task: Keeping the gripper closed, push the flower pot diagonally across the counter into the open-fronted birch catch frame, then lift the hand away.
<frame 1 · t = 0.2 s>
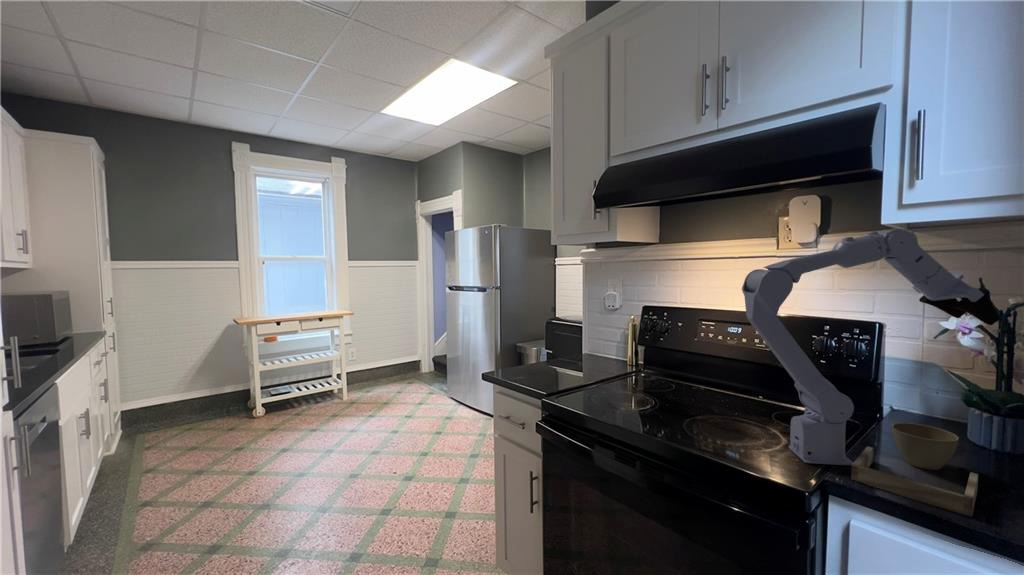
hand: (977, 318, 86), 31 cm above the table, tool tilted 45°, fingers open, 7 cm apart
flower pot: (922, 465, 88), on the table
catch frame: (913, 483, 80), on the table
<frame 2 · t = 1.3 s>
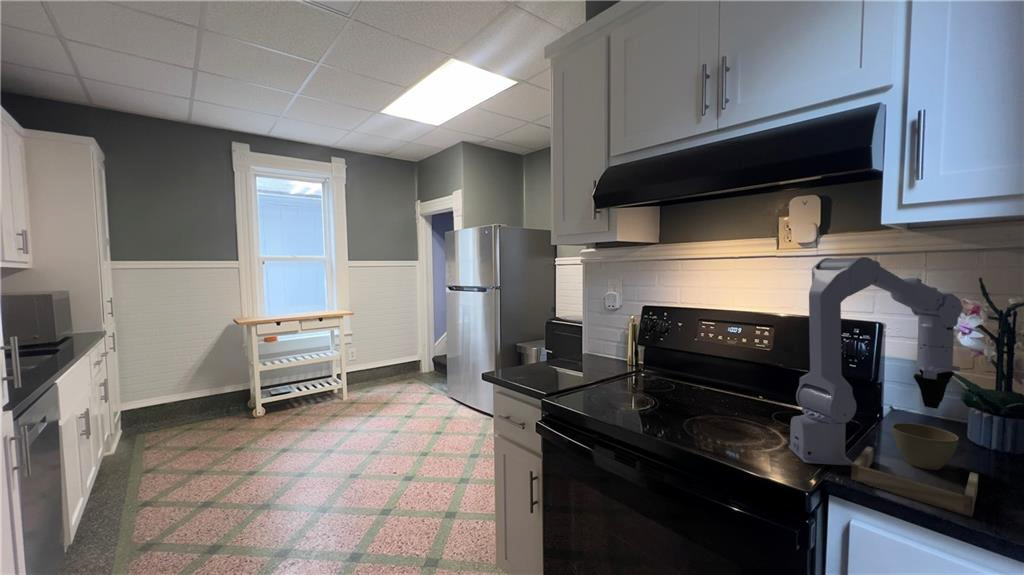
hand: (933, 404, 95), 10 cm above the table, tool pointing down, fingers open, 6 cm apart
nothing on the table moved.
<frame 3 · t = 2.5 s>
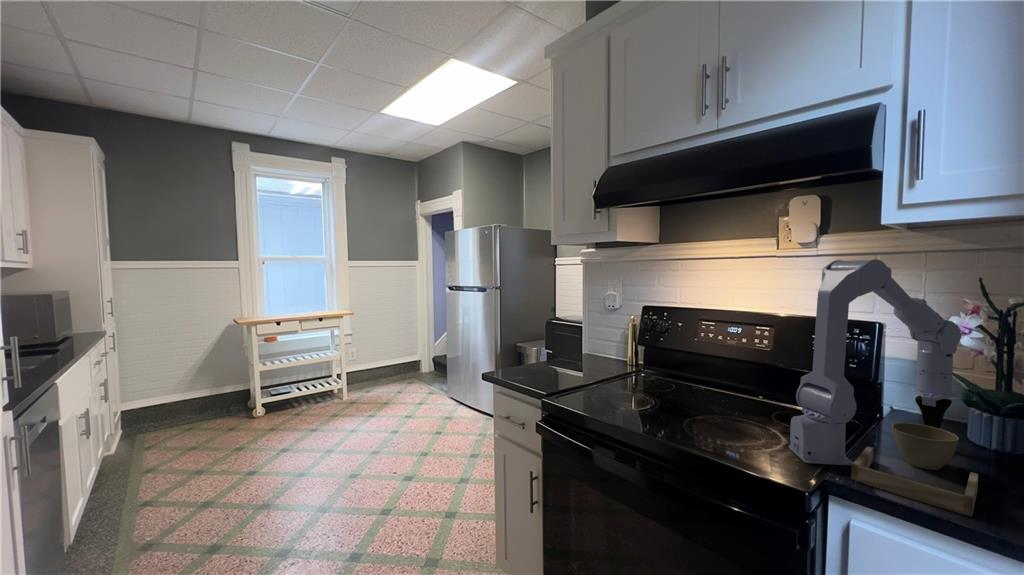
hand: (932, 429, 96), 4 cm above the table, tool pointing down, fingers closed
nothing on the table moved.
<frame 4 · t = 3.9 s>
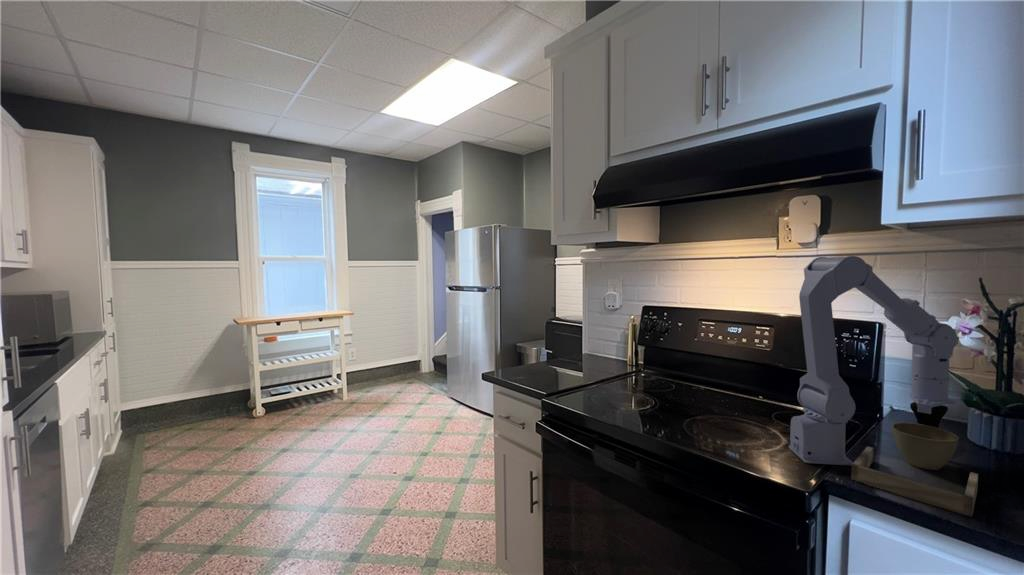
hand: (928, 437, 92), 4 cm above the table, tool pointing down, fingers closed
flower pot: (922, 465, 88), on the table, touching gripper
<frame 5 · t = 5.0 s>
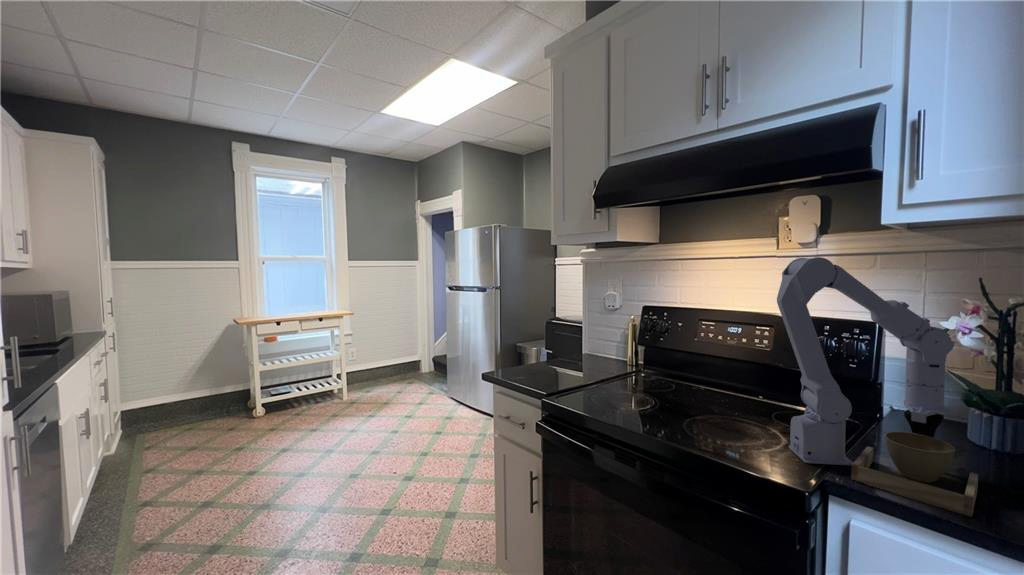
hand: (922, 447, 87), 4 cm above the table, tool pointing down, fingers closed
flower pot: (917, 477, 83), on the table, touching gripper
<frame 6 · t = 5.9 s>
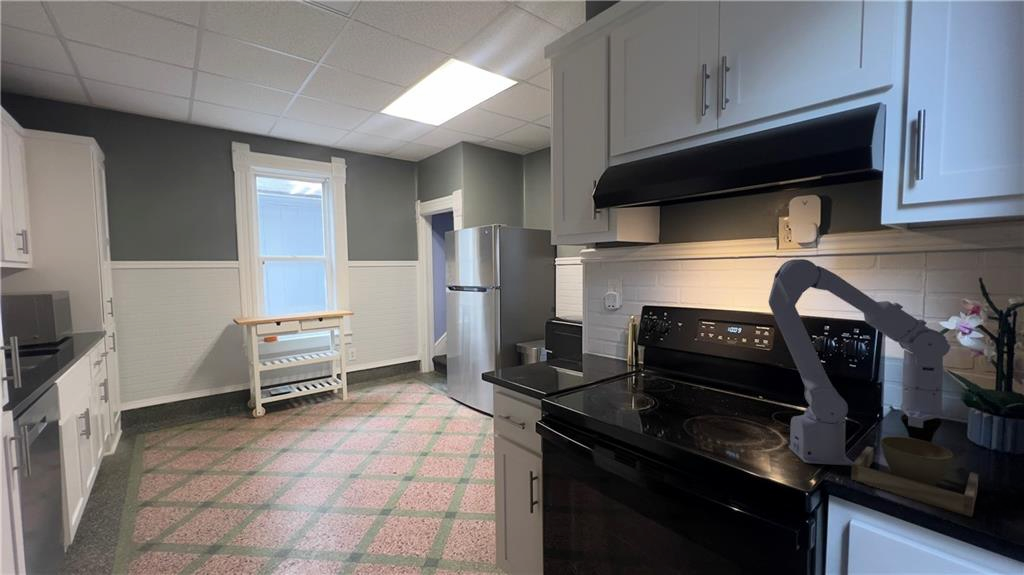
hand: (920, 452, 84), 4 cm above the table, tool pointing down, fingers closed
flower pot: (914, 483, 81), on the table, touching gripper
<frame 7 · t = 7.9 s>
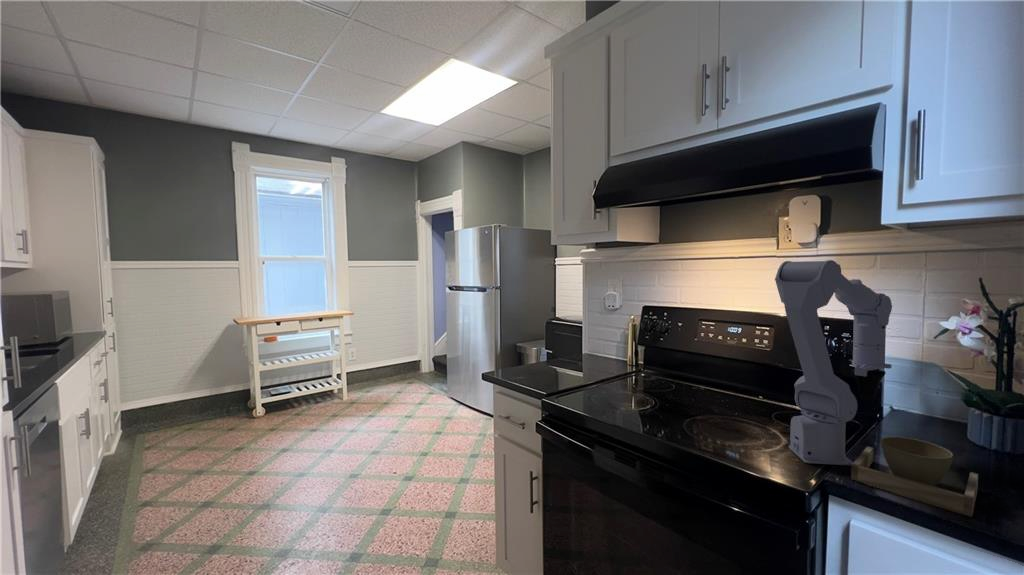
hand: (867, 400, 99), 10 cm above the table, tool pointing down, fingers closed
flower pot: (914, 483, 81), on the table
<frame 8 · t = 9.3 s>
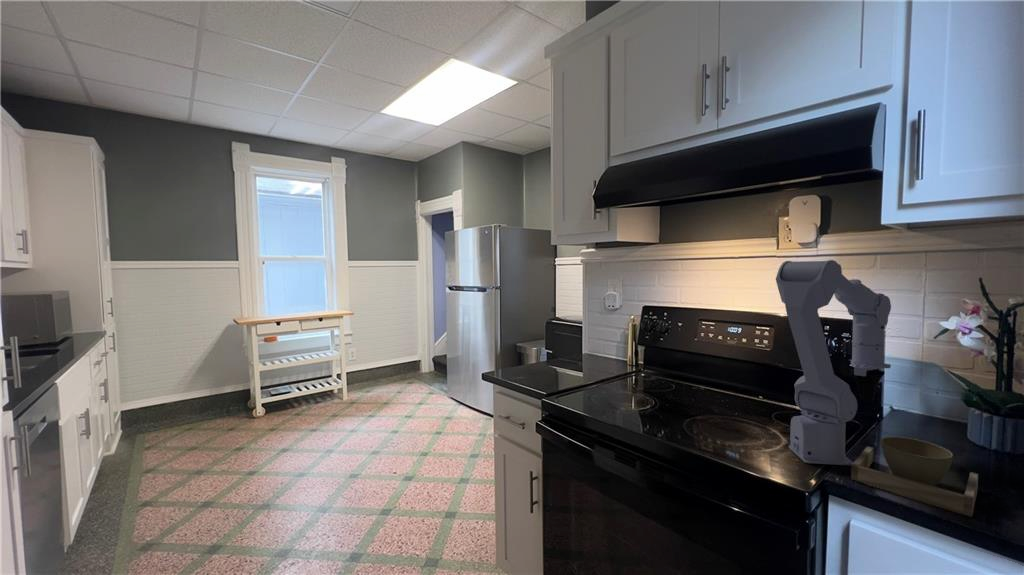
hand: (866, 400, 99), 10 cm above the table, tool pointing down, fingers closed
nothing on the table moved.
at the end: flower pot 0.8 cm from the catch frame (horizontally); flower pot tilted 0° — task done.
